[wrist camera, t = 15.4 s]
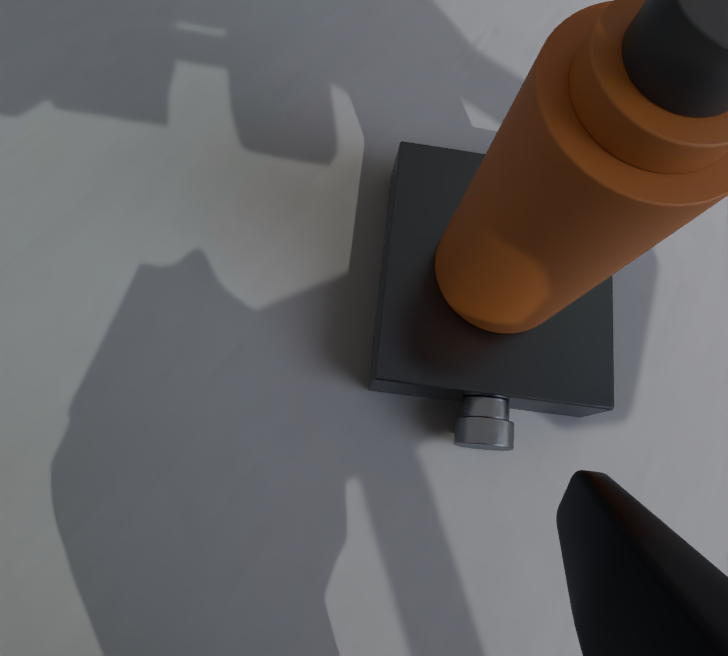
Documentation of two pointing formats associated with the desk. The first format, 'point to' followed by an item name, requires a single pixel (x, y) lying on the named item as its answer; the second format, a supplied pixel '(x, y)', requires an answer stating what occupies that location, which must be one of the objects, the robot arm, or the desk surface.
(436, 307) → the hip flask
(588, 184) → the amber bottle
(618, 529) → the robot arm
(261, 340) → the desk surface
